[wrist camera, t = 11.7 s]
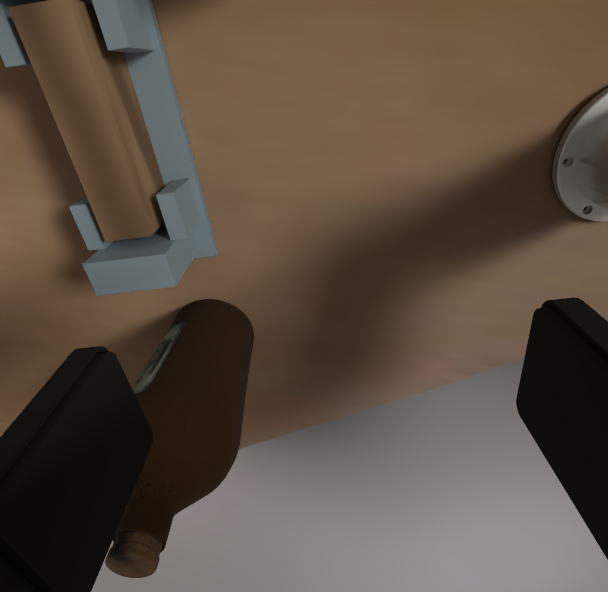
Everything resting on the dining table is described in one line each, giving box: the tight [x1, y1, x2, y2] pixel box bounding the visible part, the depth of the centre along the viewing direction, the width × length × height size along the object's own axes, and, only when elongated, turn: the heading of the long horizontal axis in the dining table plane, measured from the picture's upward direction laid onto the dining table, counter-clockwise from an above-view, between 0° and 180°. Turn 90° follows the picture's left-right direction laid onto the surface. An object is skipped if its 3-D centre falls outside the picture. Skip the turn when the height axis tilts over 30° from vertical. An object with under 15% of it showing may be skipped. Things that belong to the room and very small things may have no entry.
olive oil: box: [105, 299, 254, 578], centre depth 35 cm, size 11×11×25 cm
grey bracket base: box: [0, 0, 218, 296], centre depth 30 cm, size 10×26×9 cm, turn 8°
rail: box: [8, 0, 165, 242], centre depth 31 cm, size 4×16×6 cm, turn 7°
